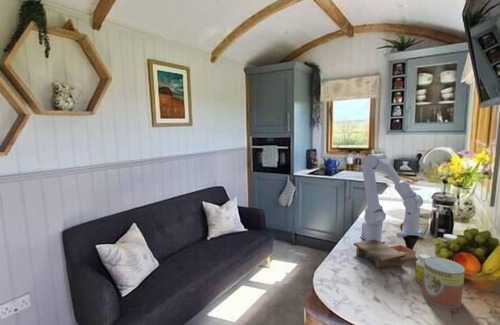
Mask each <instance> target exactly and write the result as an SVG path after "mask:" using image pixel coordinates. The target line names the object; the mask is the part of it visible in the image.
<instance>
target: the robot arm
mask: <svg viewBox="0 0 500 325" xmlns="http://www.w3.org/2000/svg"><path fill="white" fill-rule="evenodd" d="M363 163H364V164H363V167H362V176H363V183H364V189H365V196H366V198H365V199H366V203H367V204H366V207H365V208H364V215H363V216H364V217H363V218H364V220H363V222H362V224H361V232H360V233H361V236H359V238H361V239H362V238H363V240H364V239H365V240H364V241H368V240H374V239H375V240H377V241H379V242H381V243H385V242H386V240H384V239H382V238H383V237H382V234H383V222H384V221H385V220H386V212H385V211H384V208H383V206H382V205H381V204H380V201H379V200H380V199H379V193H378V187H377V182H376V181H377V180H376V172H377V171H383V172H384V173H385V174H386V175H387V177H388V178H389V179H390V180H391V181H392V183H393V184H394V187H393V188H394V189H395V191H396V192H397V193H398V195H399V196H400V198H401V199H402V200H403V201H402V203H403V207H404V208H405V211H404V223H403V224H404V226H403V229H402V230H400V231H397V232H396V238H400V239H401V238H402V239H403V241H404V245H405V246H406V247H408V248H410V249H412V250H414V248H415V245H416V244H417V242H418V240H420V236H421V234H422V235H424V234H425V229H424V228H419V227H420V216H421V214H420V213H421V207H422V206H423V205H424V199H423V198H422V196H421V195H419V194H417V192H415V191H414V190H413V189H412V187H411V186H410V185H411V184H410V182H407V181H406V180H404V179H403V180H402V179H401V176H400V175H399V174H398V173H397V171H396V170H395V168H394V166H393V165H392V163H391V160H390V158H388V157H387V155H386V154H384V153H383V152H382V153H376V154H375V153H374V154H371V153H370V154H368V155H367V156H365V158H364V159H363Z"/></svg>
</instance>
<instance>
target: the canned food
mask: <svg viewBox="0 0 500 325" xmlns="http://www.w3.org/2000/svg"><path fill="white" fill-rule="evenodd" d="M424 262H425V263H424V275H423V283H422V287H421V295H422V297H423V298H424V299H425V300H426V301H428V302H429V303H431V304H433V305H436V306H438V307H441V308H445V309H458V308H460V307H462V304H463V302H462V299H463V289H464V280H465V272H466V268H465V267H464V266H463V265H462V264H460V263H459V262H458V263H457V262H455V261H452V260H449V259H445V258H440V257H439V256H431V257H428V258H426V259H425V260H424Z"/></svg>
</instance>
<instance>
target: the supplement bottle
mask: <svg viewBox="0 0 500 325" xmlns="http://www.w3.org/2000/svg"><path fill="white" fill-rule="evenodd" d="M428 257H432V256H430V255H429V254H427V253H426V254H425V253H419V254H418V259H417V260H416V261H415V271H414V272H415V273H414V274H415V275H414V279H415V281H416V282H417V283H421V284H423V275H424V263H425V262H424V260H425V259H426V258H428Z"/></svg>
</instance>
